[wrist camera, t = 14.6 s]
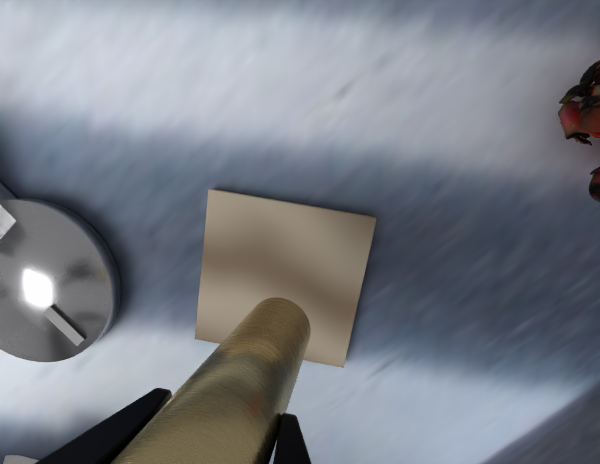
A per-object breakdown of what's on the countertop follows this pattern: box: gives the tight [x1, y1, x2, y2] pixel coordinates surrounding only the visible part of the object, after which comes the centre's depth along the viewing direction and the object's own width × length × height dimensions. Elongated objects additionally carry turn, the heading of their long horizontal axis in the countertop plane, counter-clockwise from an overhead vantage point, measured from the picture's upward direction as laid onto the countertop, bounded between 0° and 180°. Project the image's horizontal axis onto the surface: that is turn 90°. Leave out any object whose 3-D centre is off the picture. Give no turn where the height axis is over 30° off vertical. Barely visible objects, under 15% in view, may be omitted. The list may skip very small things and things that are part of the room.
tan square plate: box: [195, 189, 377, 368], centre depth 18 cm, size 10×10×1 cm
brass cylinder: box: [110, 297, 311, 464], centre depth 8 cm, size 3×3×10 cm
